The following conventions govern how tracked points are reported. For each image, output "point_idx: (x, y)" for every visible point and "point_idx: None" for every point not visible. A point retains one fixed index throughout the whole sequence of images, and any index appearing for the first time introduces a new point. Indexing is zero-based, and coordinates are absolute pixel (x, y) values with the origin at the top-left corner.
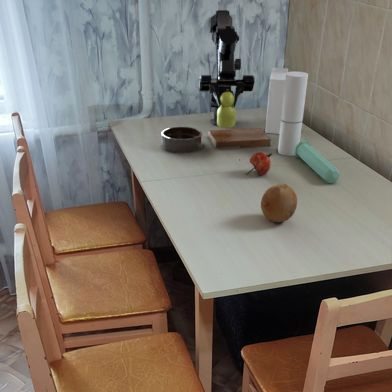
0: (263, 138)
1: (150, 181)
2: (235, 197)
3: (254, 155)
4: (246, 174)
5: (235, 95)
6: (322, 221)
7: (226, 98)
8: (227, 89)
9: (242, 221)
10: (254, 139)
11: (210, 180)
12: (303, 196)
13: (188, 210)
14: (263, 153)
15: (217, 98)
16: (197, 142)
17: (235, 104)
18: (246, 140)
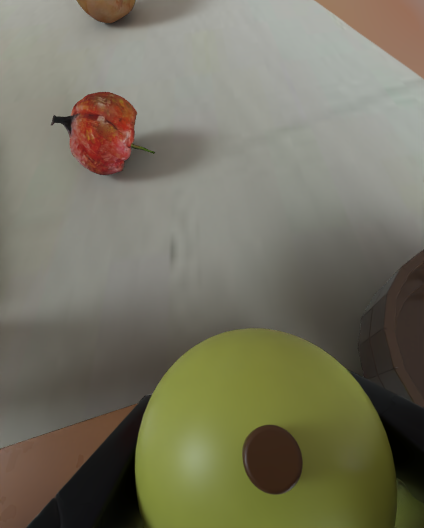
0: (15, 464)
1: (408, 83)
2: (185, 60)
3: (115, 95)
4: (153, 153)
5: (98, 495)
6: (40, 28)
7: (257, 330)
8: (270, 441)
9: (172, 9)
10: (73, 433)
11: (252, 111)
12: (39, 85)
13: (271, 15)
14: (82, 100)
15: (419, 406)
16: (379, 296)
17: (139, 403)
18: (122, 408)
